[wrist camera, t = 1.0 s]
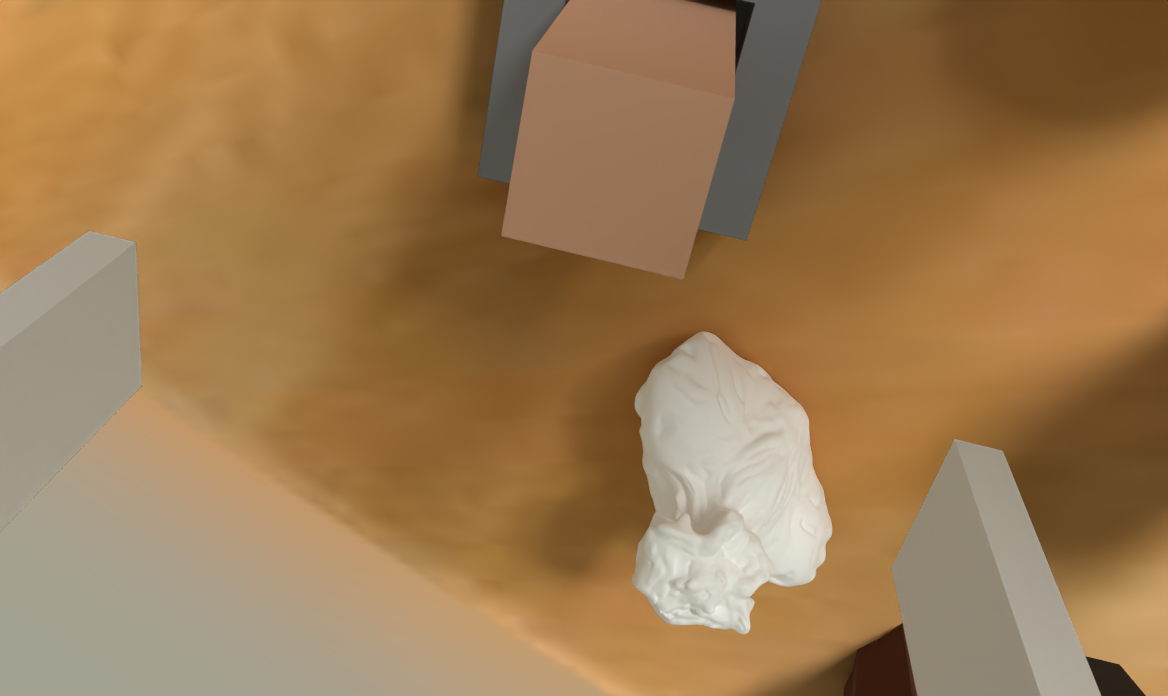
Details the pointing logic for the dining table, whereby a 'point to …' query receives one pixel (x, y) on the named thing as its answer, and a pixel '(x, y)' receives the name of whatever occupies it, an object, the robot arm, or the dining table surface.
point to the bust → (724, 487)
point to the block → (623, 130)
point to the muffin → (883, 668)
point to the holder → (762, 95)
